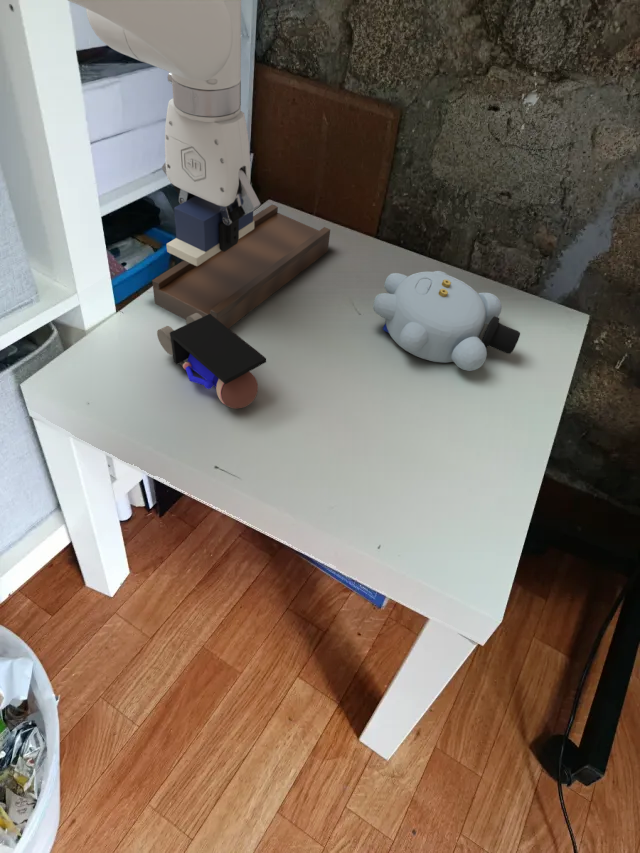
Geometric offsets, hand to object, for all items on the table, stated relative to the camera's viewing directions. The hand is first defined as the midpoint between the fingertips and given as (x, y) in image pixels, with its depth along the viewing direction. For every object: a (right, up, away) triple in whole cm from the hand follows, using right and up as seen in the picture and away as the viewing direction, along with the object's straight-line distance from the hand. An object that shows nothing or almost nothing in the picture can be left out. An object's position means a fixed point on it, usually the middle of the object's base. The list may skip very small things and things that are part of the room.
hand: (211, 237), depth 85 cm
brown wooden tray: (+3, -2, +12) cm, 13 cm away
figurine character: (+1, -19, -3) cm, 20 cm away
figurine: (+32, -13, +7) cm, 35 cm away
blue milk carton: (0, 0, 0) cm, 0 cm away
